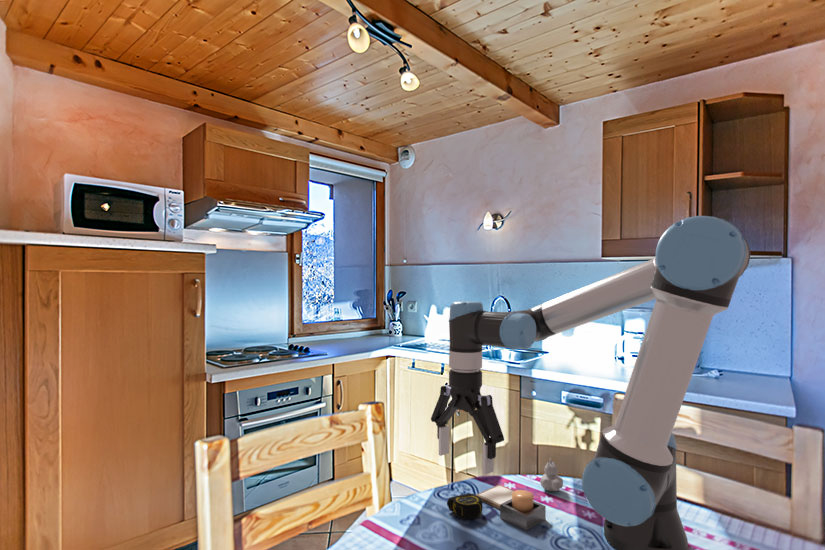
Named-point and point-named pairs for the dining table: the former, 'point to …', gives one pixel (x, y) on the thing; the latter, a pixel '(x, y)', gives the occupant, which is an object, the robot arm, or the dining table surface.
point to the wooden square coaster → (496, 495)
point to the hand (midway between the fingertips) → (464, 463)
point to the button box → (523, 515)
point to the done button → (522, 501)
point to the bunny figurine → (551, 478)
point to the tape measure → (465, 506)
